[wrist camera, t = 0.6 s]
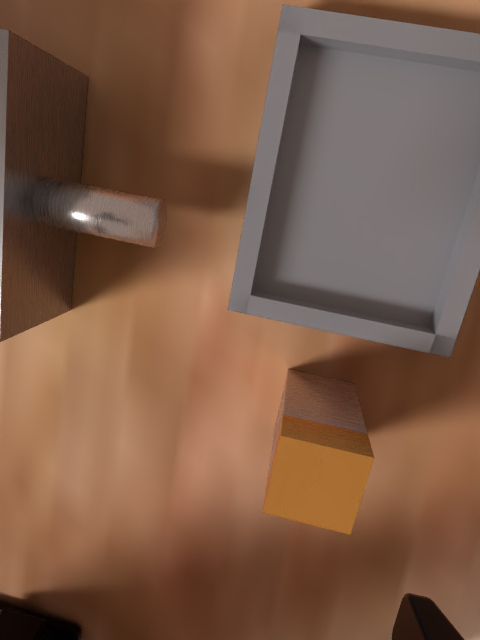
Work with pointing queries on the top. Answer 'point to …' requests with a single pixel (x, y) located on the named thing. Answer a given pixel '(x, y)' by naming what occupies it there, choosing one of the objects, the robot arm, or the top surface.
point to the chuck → (51, 188)
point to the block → (318, 453)
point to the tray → (365, 181)
